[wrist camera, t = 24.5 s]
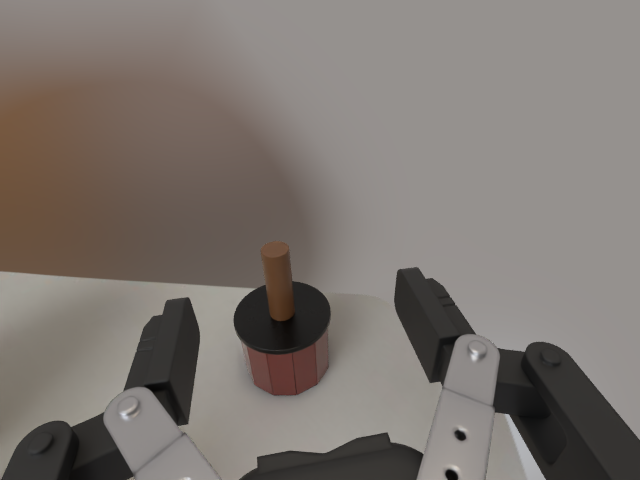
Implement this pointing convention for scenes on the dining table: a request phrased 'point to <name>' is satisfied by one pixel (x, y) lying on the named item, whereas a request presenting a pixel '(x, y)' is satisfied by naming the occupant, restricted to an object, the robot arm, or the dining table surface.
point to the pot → (288, 368)
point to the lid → (281, 308)
